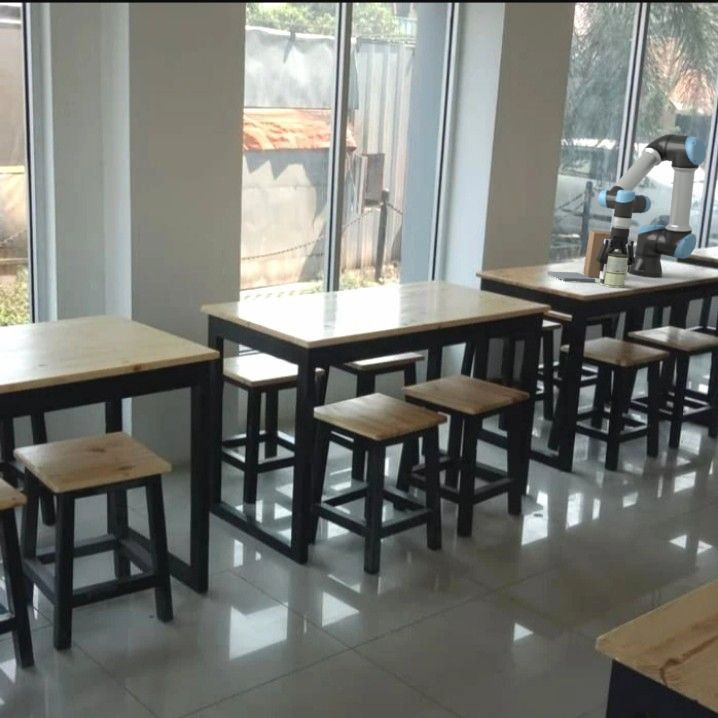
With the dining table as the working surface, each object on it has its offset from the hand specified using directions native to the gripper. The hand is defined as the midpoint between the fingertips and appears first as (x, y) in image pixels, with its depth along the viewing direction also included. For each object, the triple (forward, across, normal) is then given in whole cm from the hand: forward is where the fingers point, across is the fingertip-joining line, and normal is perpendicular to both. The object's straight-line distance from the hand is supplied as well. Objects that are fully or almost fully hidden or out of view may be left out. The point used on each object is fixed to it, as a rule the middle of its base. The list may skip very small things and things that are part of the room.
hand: (612, 279), depth 443 cm
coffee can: (+3, 0, 0) cm, 3 cm away
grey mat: (+3, +12, -13) cm, 18 cm away
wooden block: (+3, -5, -21) cm, 22 cm away
